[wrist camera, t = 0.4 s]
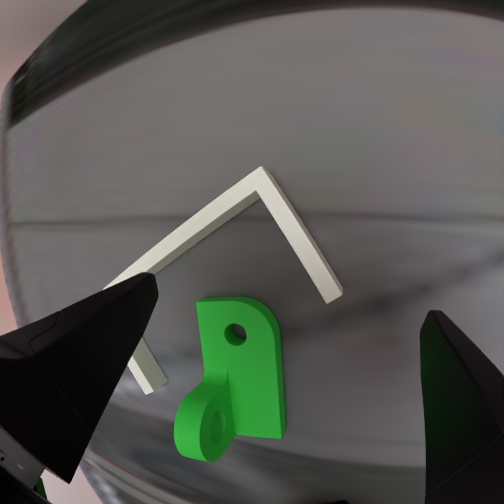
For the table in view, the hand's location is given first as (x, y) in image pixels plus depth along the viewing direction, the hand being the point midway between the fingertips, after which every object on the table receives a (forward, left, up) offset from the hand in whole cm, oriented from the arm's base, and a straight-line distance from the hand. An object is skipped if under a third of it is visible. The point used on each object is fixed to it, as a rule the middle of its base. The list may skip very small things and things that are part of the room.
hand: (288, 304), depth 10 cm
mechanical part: (-4, +10, -14) cm, 18 cm away
